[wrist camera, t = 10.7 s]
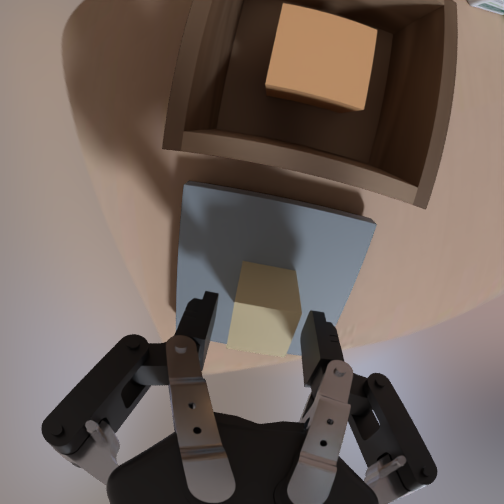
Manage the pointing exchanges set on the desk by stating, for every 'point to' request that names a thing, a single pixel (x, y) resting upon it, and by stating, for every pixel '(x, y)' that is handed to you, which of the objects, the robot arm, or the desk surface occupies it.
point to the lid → (266, 263)
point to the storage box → (314, 118)
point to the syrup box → (489, 5)
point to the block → (321, 60)
